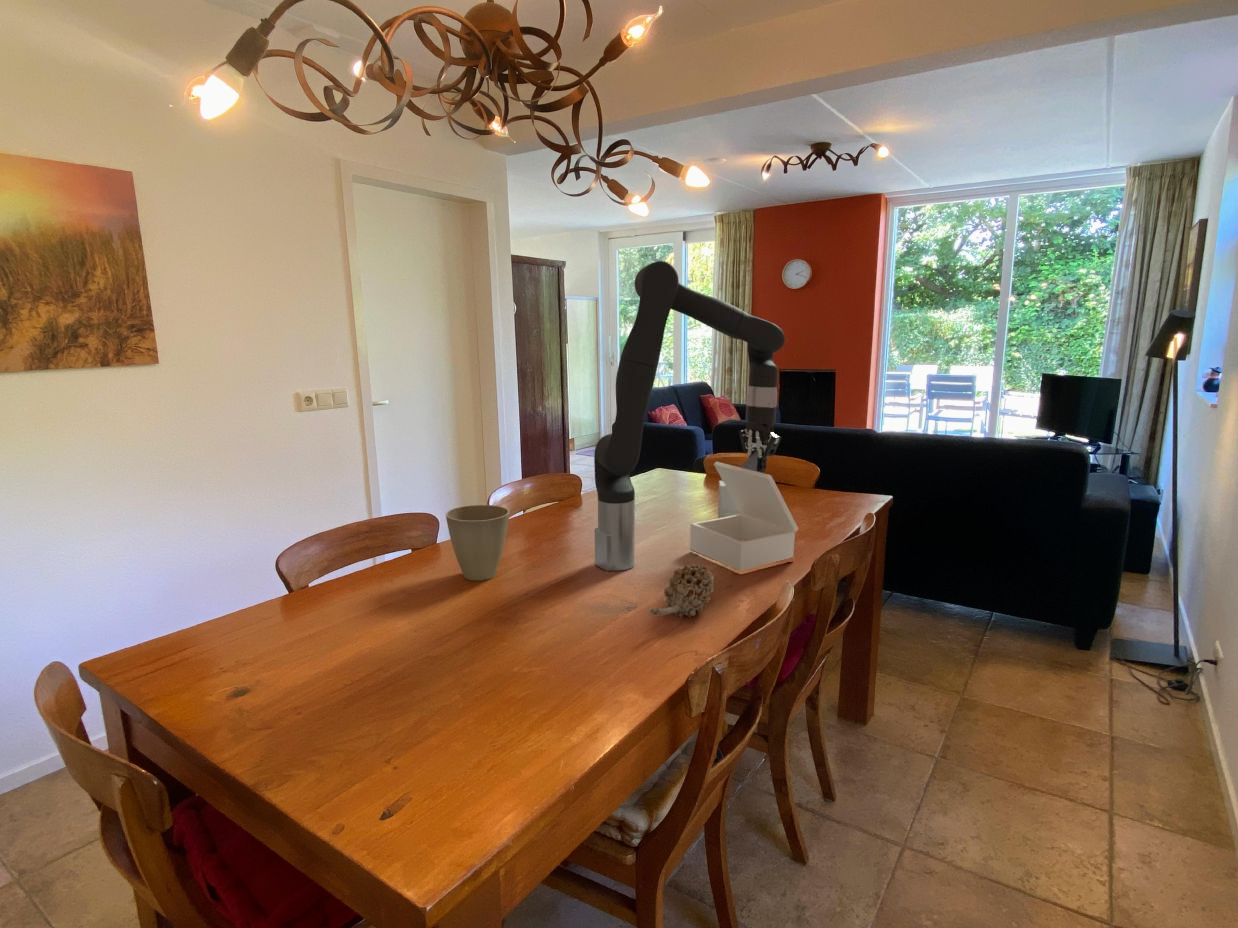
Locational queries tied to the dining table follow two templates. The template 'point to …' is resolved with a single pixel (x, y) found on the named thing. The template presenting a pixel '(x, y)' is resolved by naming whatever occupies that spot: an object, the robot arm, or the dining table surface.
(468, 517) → the plant pot
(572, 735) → the dining table surface
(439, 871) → the dining table surface
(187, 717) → the dining table surface
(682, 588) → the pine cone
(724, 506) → the supplement box
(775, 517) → the mailer lid
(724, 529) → the mailer box
